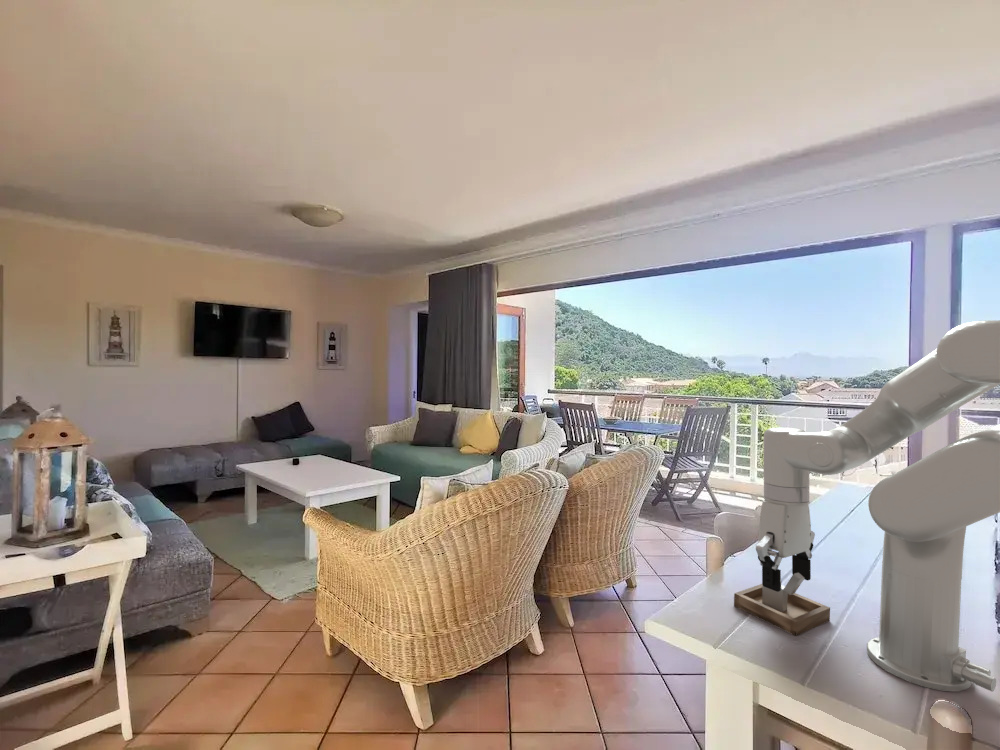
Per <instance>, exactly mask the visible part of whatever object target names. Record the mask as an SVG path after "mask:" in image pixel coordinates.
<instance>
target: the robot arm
mask: <svg viewBox="0 0 1000 750" xmlns="http://www.w3.org/2000/svg"><path fill="white" fill-rule="evenodd" d="M998 385H1000V320H996V319H995V320H975V321H969V322H965V323H962V324H960V325H956V326H955V327H953V328H952V329H950V330H949V331H947V333H945V335H943V336H942V338H941V339H940V340H939V342H938V344H937V347H936V349H935V350H933V351H931V352H930V353H929V354H927V355H926V356H924V357H922V358H921V359H920V360H918V361H917V362H915V363H913V365H910V366H909V367H908V368H906V369H905V370H904V371H902V372H901V373H899V374H897V375H896V376H895V377H893V378H892V379H889V380H888V381H887V382H886V383H885V384H884V385H883V386H882V387H881V389H880V391H879V392H878V393H879V394H878V395H877V397H876V398H875V399H874V401H872V402H871V404H869V405H868V406H867V407H865V409H863V410H862V411H860V412H859V413H857V414H855V415H854V416H853V417H851V418H849V419H848V420H847V421H846V422H844V423H842V424H840V425H839V426H837V427H836V428H833V429H827V430H823V431H817V432H816V431H814V432H807V431H805V430H803V429H801V428H795V427H770V428H767V429H766V430H765V431H764V433H763V500H762V504H761V508H760V512H759V513H760V514H759V521H758V522H759V526H758V543H757V544H756V545H755V550H756V554H757V558H758V559H757V560H758V561H759V565H760V566H761V569H762V570H761V577H762V579H761V584H762V585H763V586H764V587H766V588H769V589H771V590H774V591H777V592H779V591H781V585H782V578H781V575H782V574H781V571H782V570H781V569H779V567H780V564H781V562H782V560H783V559H786V558H788V557H791V560H792V562H791V563H792V565H791V567H792V568H791V570H792V571H791V573H792V575H793V574H795V573H800V574H801V575H802V576H803V577H804V578H805V579H804V580H803V581H811V580H812V579H811V577H812V575H811V569H812V568H811V562H812V561H811V559H812V558H813V554H812V550H813V548H814V540H815V536H816V533H815V532H814V531H813V530H812V523H811V513H810V506H809V505H810V472H812V473H816V474H819V475H825V476H833V475H838V474H842V473H844V472H846V471H849V470H852V469H854V468H857V467H860V466H862V465H864V464H866V463H867V462H869V461H870V460H872V459H875V458H876V457H877V456H879V455H880V454H882V453H885V452H886V451H888V450H889V449H891V448H893V447H894V446H896V445H897V444H899V443H901V442H902V441H904V440H906V439H907V438H908V437H910V436H912V435H914V434H916V433H918V432H919V433H920V432H921V431H923V430H925V429H926V428H928V427H929V426H932V424H934V423H936V422H937V421H939V420H941V419H943V418H944V417H946V416H948V415H950V414H951V413H952V412H954V411H956V410H957V409H959V408H961V407H962V406H964V405H965V404H968V403H970V402H971V401H973V400H975V399H976V398H978V397H979V396H981V395H983V394H985V393H987V392H988V391H990V390H992V389H994V388H995V387H997V386H998ZM868 511H869V514H870V516H871V518H872V520H873V522H874V523H875V524H876V526H878V527H879V529H881V530H882V531H884V534H883V543H882V544H883V545H882V559H881V560H882V562H881V583H880V584H881V585H880V589H881V590H880V606H879V607H880V609H879V610H880V611H879V630H878V633H879V634H878V637H874V638H871V639H869V640H868V641H867V643H866V652H867V655H868V657H870V659H871V660H872V661H873V662H874V663H875V664H877V665H878V666H879V667H880V668H881V669H883V670H885V671H886V672H888V673H889V674H892V675H894V676H896V677H897V678H900V679H902V680H905V682H909V683H912V684H915V685H917V686H921V687H924V688H928V689H933V690H937V691H941V692H942V691H944V692H961V691H965V690H967V689H969V688H970V687H971V686H972V683H973V684H975V685H976V686H979V687H981V688H983V689H985V690H987V691H990V692H994V691H995V689H996V686H997V679H996V677H994V676H992V675H991V670H990V669H988V668H985V667H984V666H981V665H977V664H975V663H973V662H971V661H970V660H969V659H968V658H967V649H966V648H963V647H961V646H959V645H960V644H959V643H960V641H959V640H960V621H961V620H960V618H961V601H962V600H961V598H962V596H961V595H962V581H963V567H964V566H963V564H964V563H963V562H964V547H965V539H966V532H967V527H968V526H971V525H973V524H976V523H978V522H980V521H983V520H986V519H987V518H990V517H992V516H994V515H997V514H999V513H1000V423H999V424H996V425H995V426H991V427H990V428H988V429H985V430H981V431H978V432H975V433H972V434H969V435H966V436H964V437H962V438H960V439H957V440H956V441H954V442H951V443H950V444H948V445H945V446H944V447H942V448H941V449H937V451H935V452H933V453H931V454H929V455H927V456H925V457H923V458H922V459H919V460H918V461H916V462H914V463H912V464H910V465H909V466H907V467H905V468H903V469H901V470H899V471H897V472H895V473H893V474H891V475H889V476H887V477H885V478H884V479H882V480H880V481H879V482H878V483H877V484H875V486H874V487H873V488H872V490H871V491H870V494H869V496H868ZM771 557H774V560H773V559H772V558H771Z"/></svg>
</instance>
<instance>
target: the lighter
mask: <svg viewBox="0 0 1000 750" xmlns="http://www.w3.org/2000/svg"><path fill="white" fill-rule="evenodd" d="M804 579H805V578H804V577H803V576H802V575H801V574H800V573H795V574H792V575H791V577H790V579H789V580H788V582H787V583H786V585H782V584H781V591H779V592H777V591H774V590H771V589H769V588H766V587H764V586H763V587H762V603H764V604H766V605H768V606H770V607H772V608H775V609H777V610H779V611H781V612H784V611H786V610H787V600H788V594H789V595H792V594H794V593H796V592H797V590H798V589H799V587H801V585H802V583H803V582H804V581H805V580H804Z"/></svg>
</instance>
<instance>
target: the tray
mask: <svg viewBox="0 0 1000 750" xmlns="http://www.w3.org/2000/svg"><path fill="white" fill-rule="evenodd" d="M762 587H763V585H762V583H760V584H757V585H753V586H752V587H748V588H746V589H743V590H740V591H738V592H734V593H733V595H734V597H733V607H736V608H738V609H740V610H741V611H743V612H745V613H748V614H750V615H751V616H754V617H757V618H758V619H760V620H762V621H764V622H766V623H768V624H770V625H772V626H774V627H776V628H778V629H780V630H782V631H784V632H787V633H789V634H791V635H792V636H794V637H798V636H800V635H801V634H804V633H806V632H808V631H809V632H810V630H814V629H815V628H817V627H819V626H822V625H825V624H826V623H828V622H830V621H831V618H830V617H831V607H829V606H827V605H826V604H823V603H820V602H817V601H815V600H812V599H810V598H808V597H805V596H804V595H800V594H798V593H796V592H795V593H794V594H792V595H789V594H788V600H787V610H786V611H784V612H781V611H779V610H777V609H775V608H772V607H770V606H768V605H766V604H764V603H762Z"/></svg>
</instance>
